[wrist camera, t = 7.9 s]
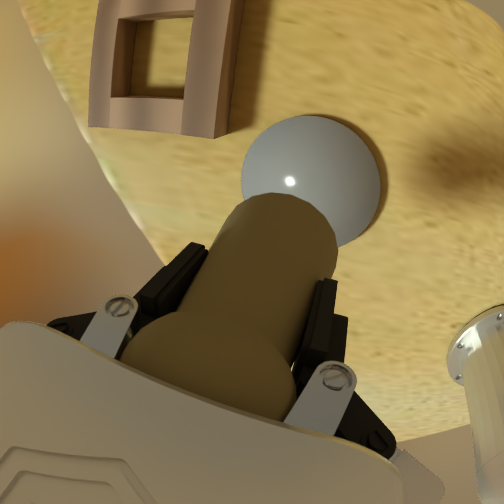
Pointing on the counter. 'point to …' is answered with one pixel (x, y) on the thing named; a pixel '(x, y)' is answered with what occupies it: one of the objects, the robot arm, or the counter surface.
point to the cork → (244, 308)
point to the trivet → (316, 171)
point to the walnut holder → (197, 75)
